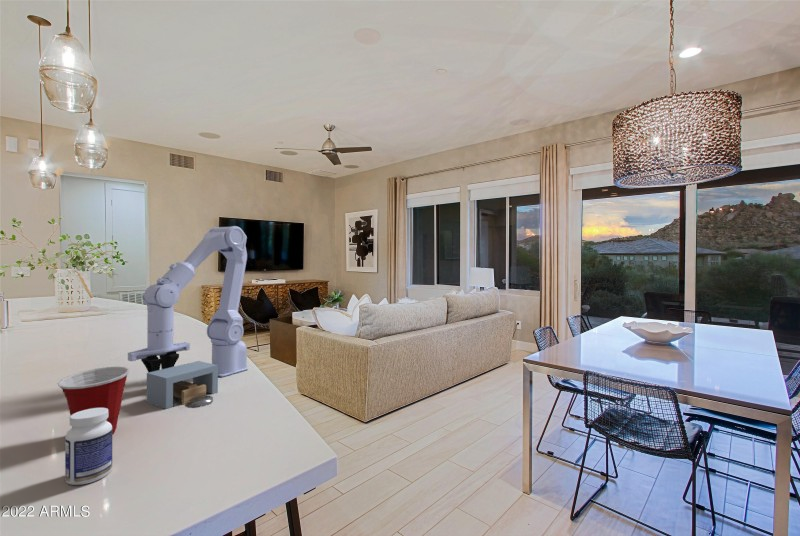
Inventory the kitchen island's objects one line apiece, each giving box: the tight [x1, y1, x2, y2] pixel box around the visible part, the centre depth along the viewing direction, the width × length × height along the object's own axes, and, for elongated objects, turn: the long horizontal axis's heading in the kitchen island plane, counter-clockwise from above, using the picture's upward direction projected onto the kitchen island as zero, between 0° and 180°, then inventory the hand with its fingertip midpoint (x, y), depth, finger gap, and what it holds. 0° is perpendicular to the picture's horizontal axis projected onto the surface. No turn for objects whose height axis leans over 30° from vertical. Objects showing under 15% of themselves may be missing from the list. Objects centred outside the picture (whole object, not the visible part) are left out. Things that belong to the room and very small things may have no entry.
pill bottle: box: [64, 408, 113, 486], centre depth 59 cm, size 6×6×10 cm
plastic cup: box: [57, 365, 130, 436], centre depth 73 cm, size 11×11×12 cm
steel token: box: [188, 395, 214, 408], centre depth 91 cm, size 5×5×1 cm
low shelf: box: [146, 360, 219, 410], centre depth 94 cm, size 13×8×7 cm, turn 151°
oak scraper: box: [173, 380, 207, 405], centre depth 96 cm, size 6×18×4 cm, turn 61°
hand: (160, 382), depth 99 cm, fingers closed on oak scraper, 2 cm apart
